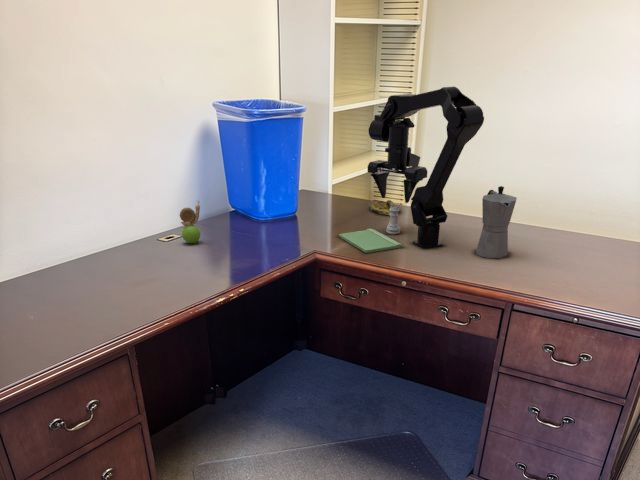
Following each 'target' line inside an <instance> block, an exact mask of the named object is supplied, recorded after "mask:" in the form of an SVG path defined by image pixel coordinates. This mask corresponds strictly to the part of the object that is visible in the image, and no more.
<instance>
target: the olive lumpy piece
mask: <svg viewBox="0 0 640 480" xmlns="http://www.w3.org/2000/svg"><path fill="white" fill-rule="evenodd" d="M394 205H395V204H394V201H392V200H391V199H387V200H386V201H384V200H377V201H376V202H375V203H372V204H371V205H370V210H371V212H373V213H376V214H379V215H381V216H390V210H389V209H390V207H391V206H393V207H394ZM397 206H398V205H396V207H397ZM399 213H400V211H399V212H398V214H399Z"/></svg>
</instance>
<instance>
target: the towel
mask: <svg viewBox="0 0 640 480" xmlns="http://www.w3.org/2000/svg"><path fill="white" fill-rule="evenodd" d="M338 237H339V238H340V239H342V240H343V241H345V242H347V243H348V244H350V245H351V246H354V247H355V248H357V249H358V250H360V251H362V252H363V253H365V254H370V253H376V252H382V251H388V250H393V249H400V248H403V244H402V243H400V242H398V241H396V240H394V239H393V238H390V237H389V236H387V235H386V234H383V233H382V232H379V231H378V230H375V229H374V228H371V227H370V228H367V229H364V230H358V231H351V232H344V233H339V234H338Z"/></svg>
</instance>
